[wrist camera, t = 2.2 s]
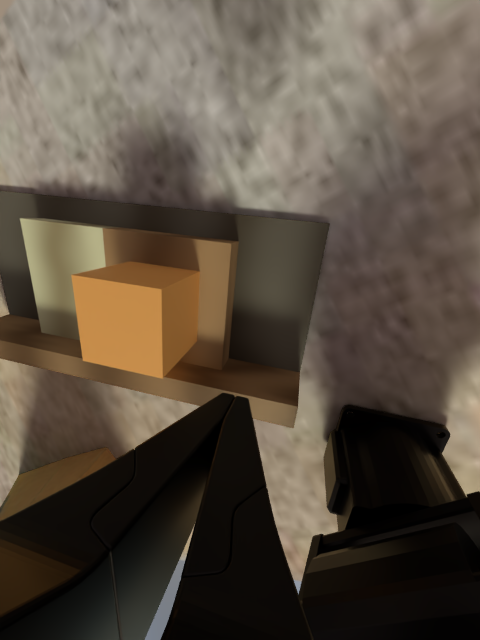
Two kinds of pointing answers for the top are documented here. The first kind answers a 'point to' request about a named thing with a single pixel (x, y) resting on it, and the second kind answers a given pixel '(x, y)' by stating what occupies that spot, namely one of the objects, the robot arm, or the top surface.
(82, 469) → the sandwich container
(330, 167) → the top surface
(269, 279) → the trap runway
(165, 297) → the block
